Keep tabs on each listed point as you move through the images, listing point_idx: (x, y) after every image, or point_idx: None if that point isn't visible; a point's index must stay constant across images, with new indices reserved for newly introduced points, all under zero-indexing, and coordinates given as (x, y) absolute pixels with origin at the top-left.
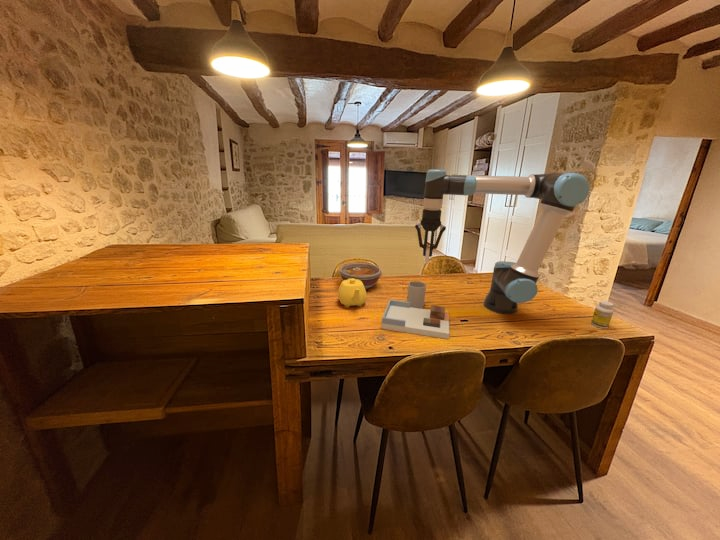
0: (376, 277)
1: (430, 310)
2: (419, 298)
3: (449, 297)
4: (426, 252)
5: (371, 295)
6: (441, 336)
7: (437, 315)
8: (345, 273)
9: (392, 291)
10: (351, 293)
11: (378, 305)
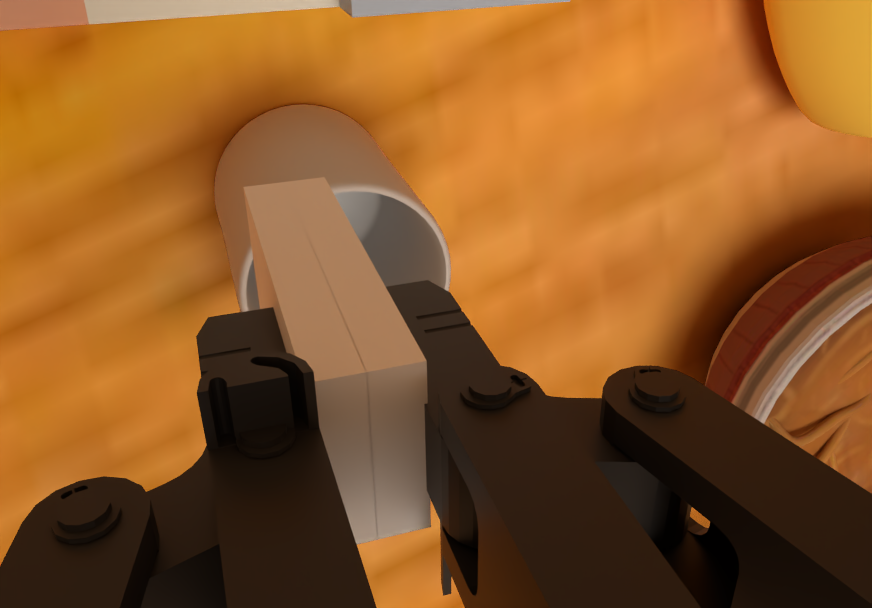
0: (748, 373)
1: (101, 10)
2: (271, 152)
3: (20, 488)
4: (379, 314)
5: (699, 206)
6: None
7: None
8: None
9: (541, 361)
10: None
11: (626, 26)
